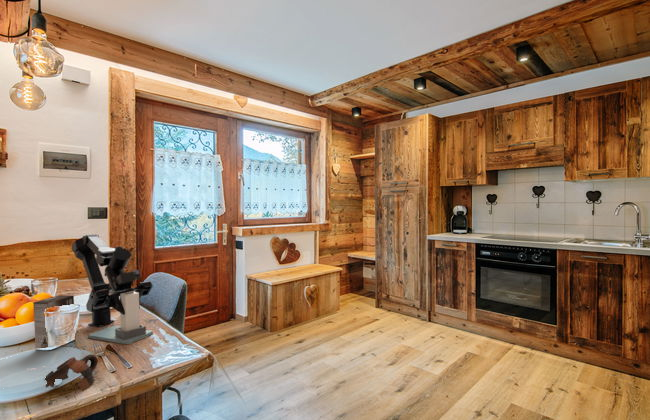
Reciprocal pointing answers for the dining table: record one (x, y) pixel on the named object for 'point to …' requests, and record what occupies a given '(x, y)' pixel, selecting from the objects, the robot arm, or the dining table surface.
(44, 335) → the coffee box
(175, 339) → the dining table surface
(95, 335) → the socket plate
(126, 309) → the block
